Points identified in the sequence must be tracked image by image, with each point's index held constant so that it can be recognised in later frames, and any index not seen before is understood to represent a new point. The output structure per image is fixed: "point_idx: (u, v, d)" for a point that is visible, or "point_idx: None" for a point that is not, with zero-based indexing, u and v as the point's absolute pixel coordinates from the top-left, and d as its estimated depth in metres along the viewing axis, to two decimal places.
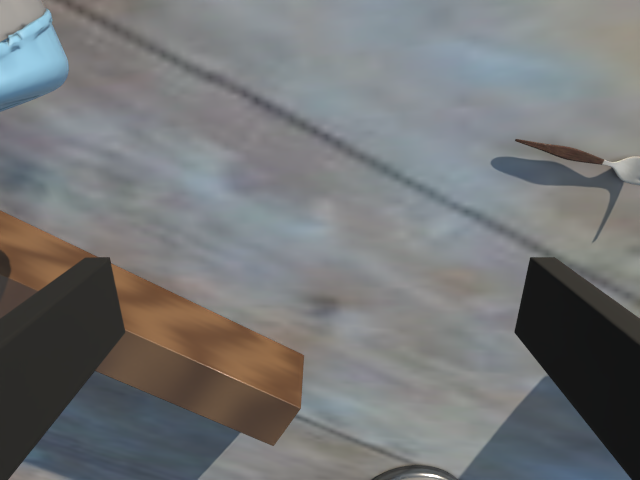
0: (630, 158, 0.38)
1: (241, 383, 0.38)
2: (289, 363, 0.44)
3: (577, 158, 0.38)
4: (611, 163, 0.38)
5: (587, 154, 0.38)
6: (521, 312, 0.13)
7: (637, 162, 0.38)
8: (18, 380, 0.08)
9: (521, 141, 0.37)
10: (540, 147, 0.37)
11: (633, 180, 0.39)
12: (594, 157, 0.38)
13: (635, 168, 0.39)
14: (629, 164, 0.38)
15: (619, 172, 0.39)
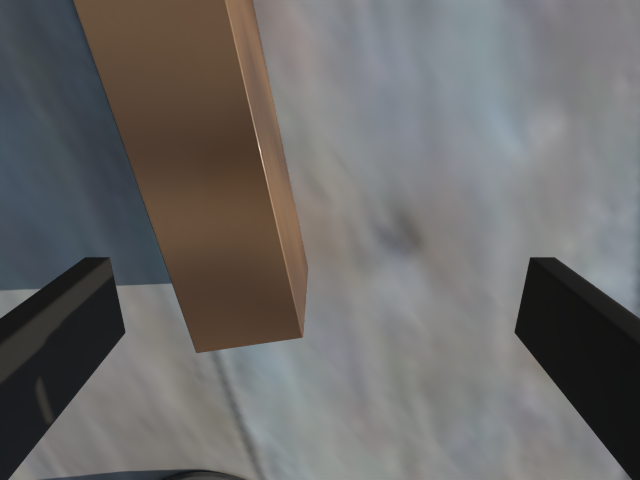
0: None
1: (274, 223, 0.18)
2: (302, 263, 0.26)
3: None
4: None
5: None
6: (521, 312, 0.13)
7: None
8: (18, 380, 0.08)
9: None
10: None
11: None
12: None
13: None
14: None
15: None
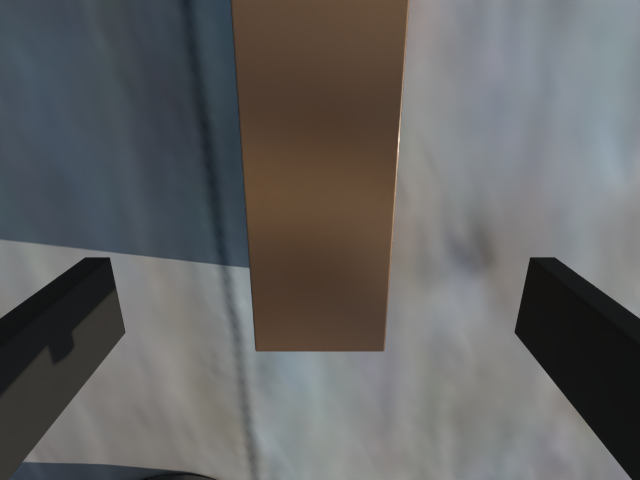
0: None
1: (391, 214, 0.16)
2: None
3: None
4: None
5: None
6: (521, 312, 0.13)
7: None
8: (18, 380, 0.08)
9: None
10: None
11: None
12: None
13: None
14: None
15: None
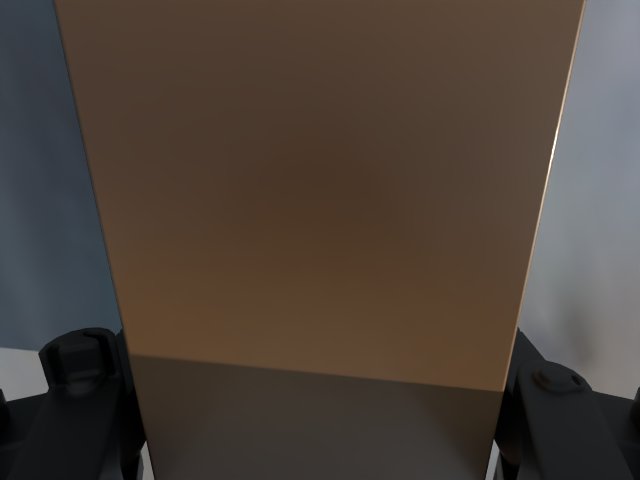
0: None
1: (496, 400, 0.06)
2: None
3: None
4: None
5: None
6: None
7: None
8: None
9: None
10: None
11: None
12: None
13: None
14: None
15: None
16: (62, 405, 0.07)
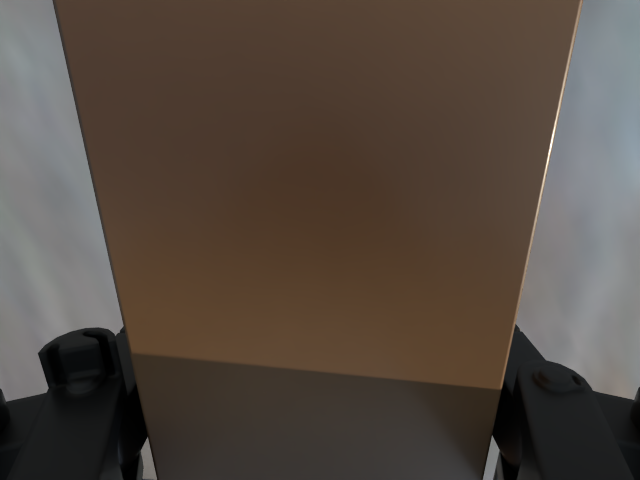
0: None
1: (493, 399, 0.06)
2: None
3: None
4: None
5: None
6: None
7: None
8: None
9: None
10: None
11: None
12: None
13: None
14: None
15: None
16: (62, 405, 0.07)
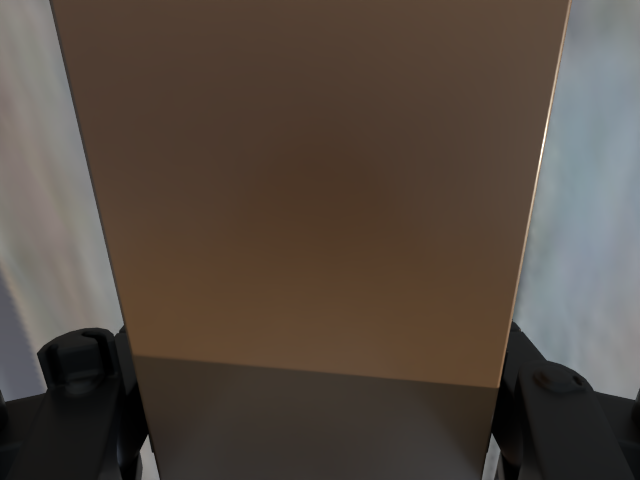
0: None
1: (492, 389, 0.06)
2: None
3: None
4: None
5: None
6: None
7: None
8: None
9: None
10: None
11: None
12: None
13: None
14: None
15: None
16: (61, 405, 0.07)
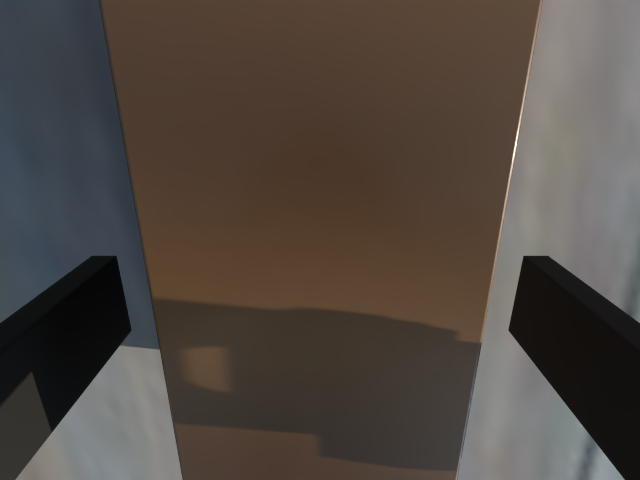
0: None
1: (472, 364, 0.07)
2: None
3: None
4: None
5: None
6: (515, 310, 0.13)
7: None
8: (28, 376, 0.08)
9: None
10: None
11: None
12: None
13: None
14: None
15: None
16: None
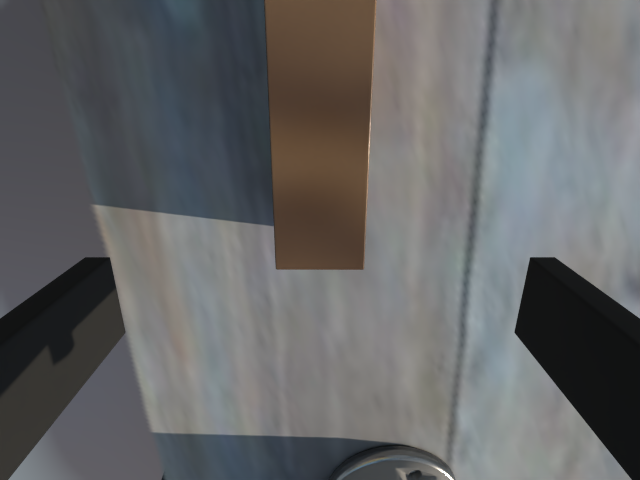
0: None
1: (366, 172, 0.24)
2: None
3: None
4: None
5: None
6: (521, 312, 0.13)
7: None
8: (18, 380, 0.08)
9: None
10: None
11: None
12: None
13: None
14: None
15: None
16: None
